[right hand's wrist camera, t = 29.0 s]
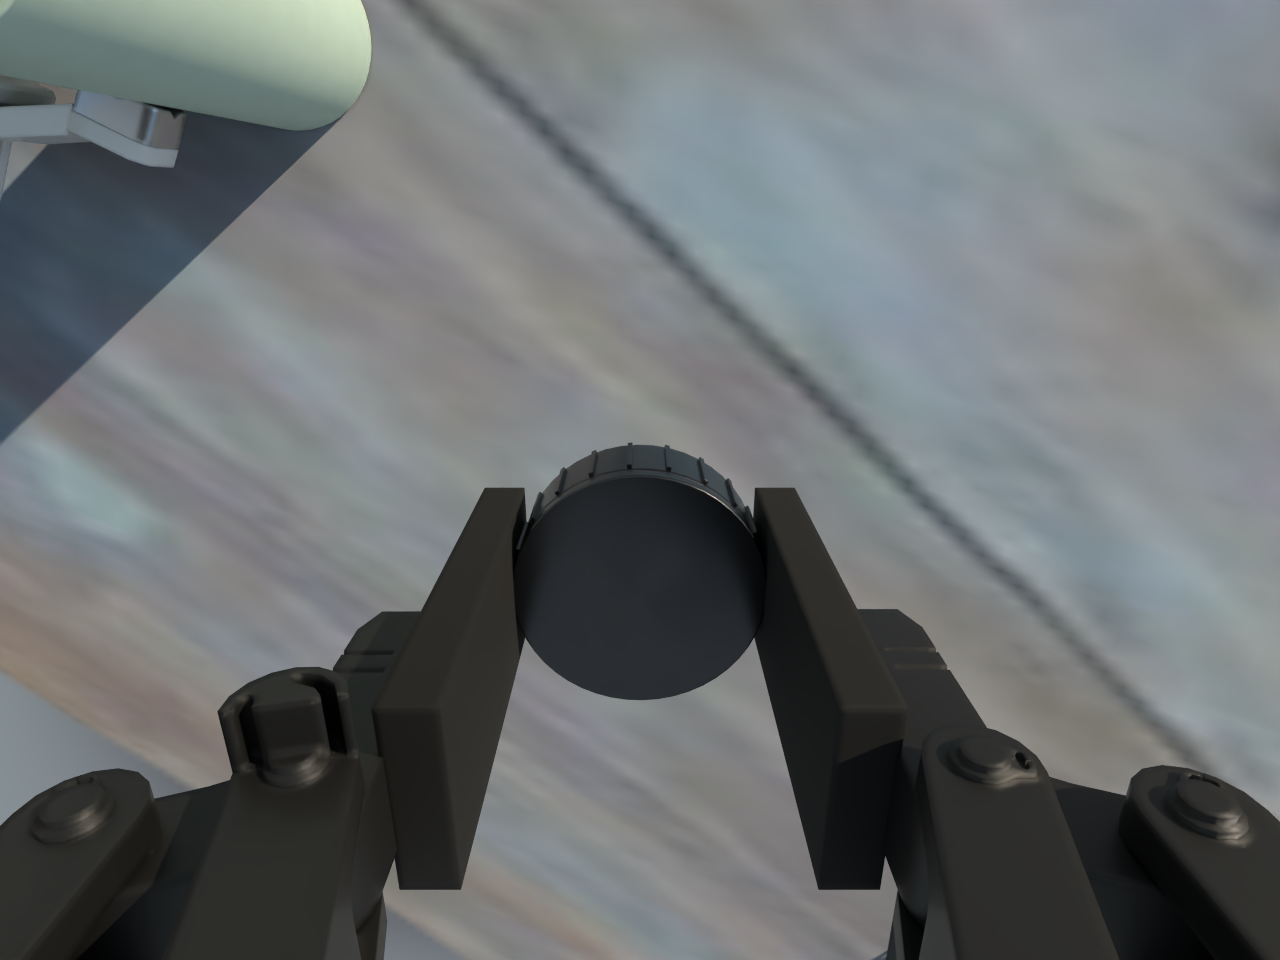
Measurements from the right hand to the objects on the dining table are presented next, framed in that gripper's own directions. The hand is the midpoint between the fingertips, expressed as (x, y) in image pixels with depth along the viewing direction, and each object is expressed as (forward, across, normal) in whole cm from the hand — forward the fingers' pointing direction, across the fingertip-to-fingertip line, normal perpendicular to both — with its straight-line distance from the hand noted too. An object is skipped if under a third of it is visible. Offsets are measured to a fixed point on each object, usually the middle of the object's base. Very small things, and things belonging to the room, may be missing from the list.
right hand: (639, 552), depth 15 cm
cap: (-1, 0, 0) cm, 1 cm away
